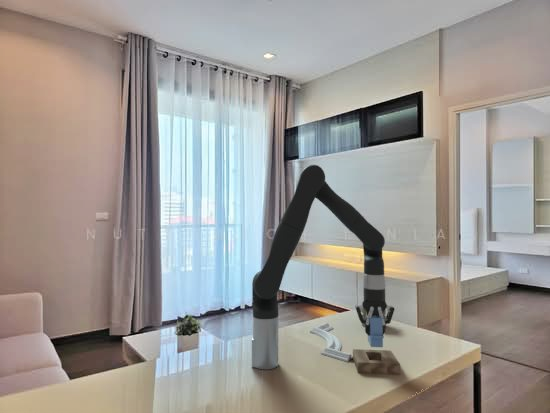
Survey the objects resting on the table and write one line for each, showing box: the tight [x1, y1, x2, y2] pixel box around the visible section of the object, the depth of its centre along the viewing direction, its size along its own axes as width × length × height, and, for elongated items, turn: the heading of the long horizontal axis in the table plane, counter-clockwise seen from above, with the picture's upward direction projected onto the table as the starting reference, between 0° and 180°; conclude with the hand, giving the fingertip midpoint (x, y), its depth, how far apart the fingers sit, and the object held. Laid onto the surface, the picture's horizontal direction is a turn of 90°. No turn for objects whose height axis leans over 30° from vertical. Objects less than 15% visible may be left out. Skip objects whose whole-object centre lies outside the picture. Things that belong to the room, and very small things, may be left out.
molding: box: [309, 322, 353, 363], centre depth 147 cm, size 42×12×3 cm, turn 4°
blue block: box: [367, 315, 385, 348], centre depth 123 cm, size 4×9×10 cm, turn 175°
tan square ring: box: [352, 348, 401, 375], centre depth 122 cm, size 14×12×4 cm
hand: (374, 334), depth 123 cm, fingers closed on blue block, 4 cm apart
